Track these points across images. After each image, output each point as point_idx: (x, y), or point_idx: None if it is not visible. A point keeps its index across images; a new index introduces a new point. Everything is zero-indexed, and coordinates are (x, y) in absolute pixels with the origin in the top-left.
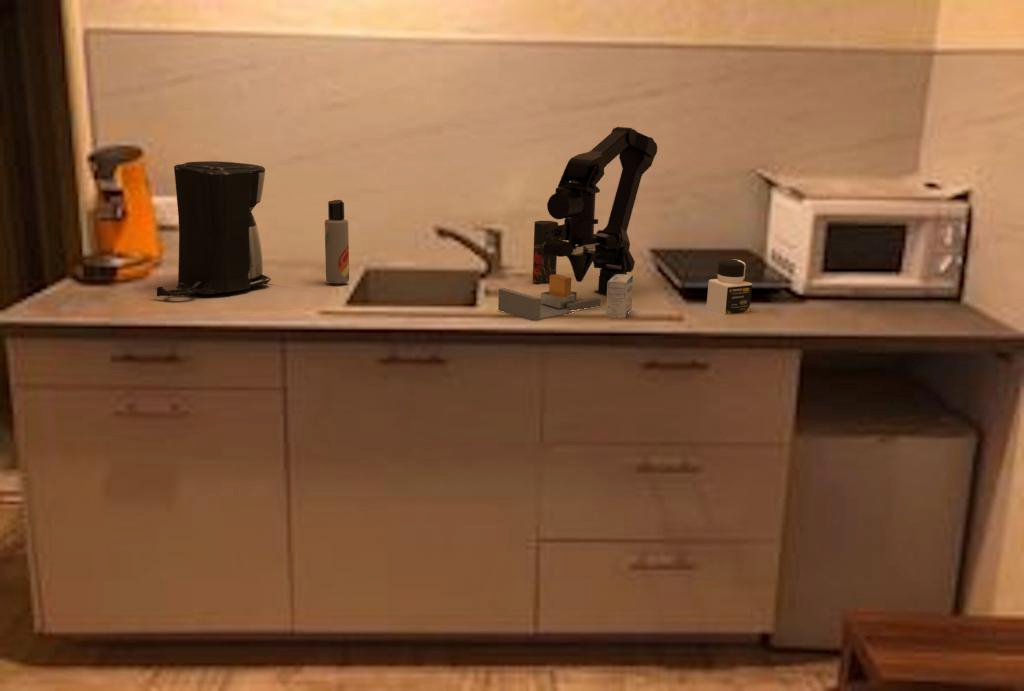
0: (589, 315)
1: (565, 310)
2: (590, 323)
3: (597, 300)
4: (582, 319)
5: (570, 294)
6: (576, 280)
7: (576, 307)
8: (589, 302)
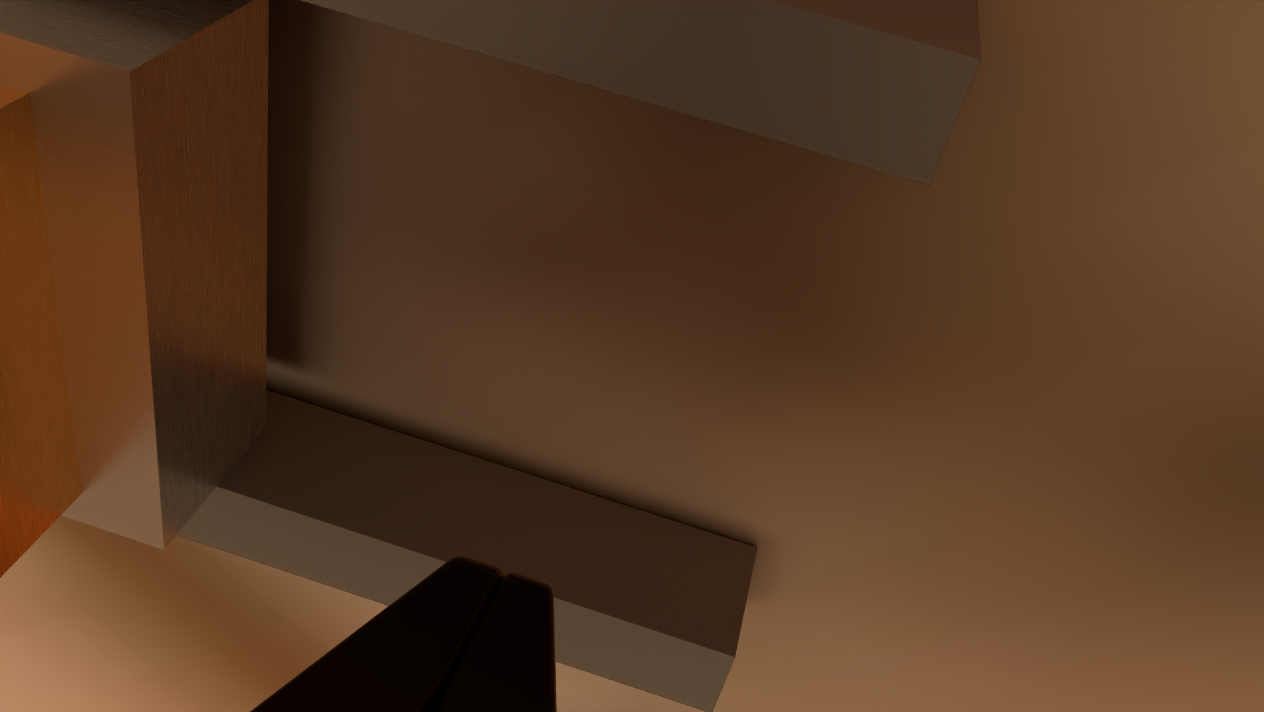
0: (265, 605)
1: None
2: (43, 692)
3: (633, 670)
4: (71, 596)
5: (64, 503)
6: (446, 572)
7: None
8: None
